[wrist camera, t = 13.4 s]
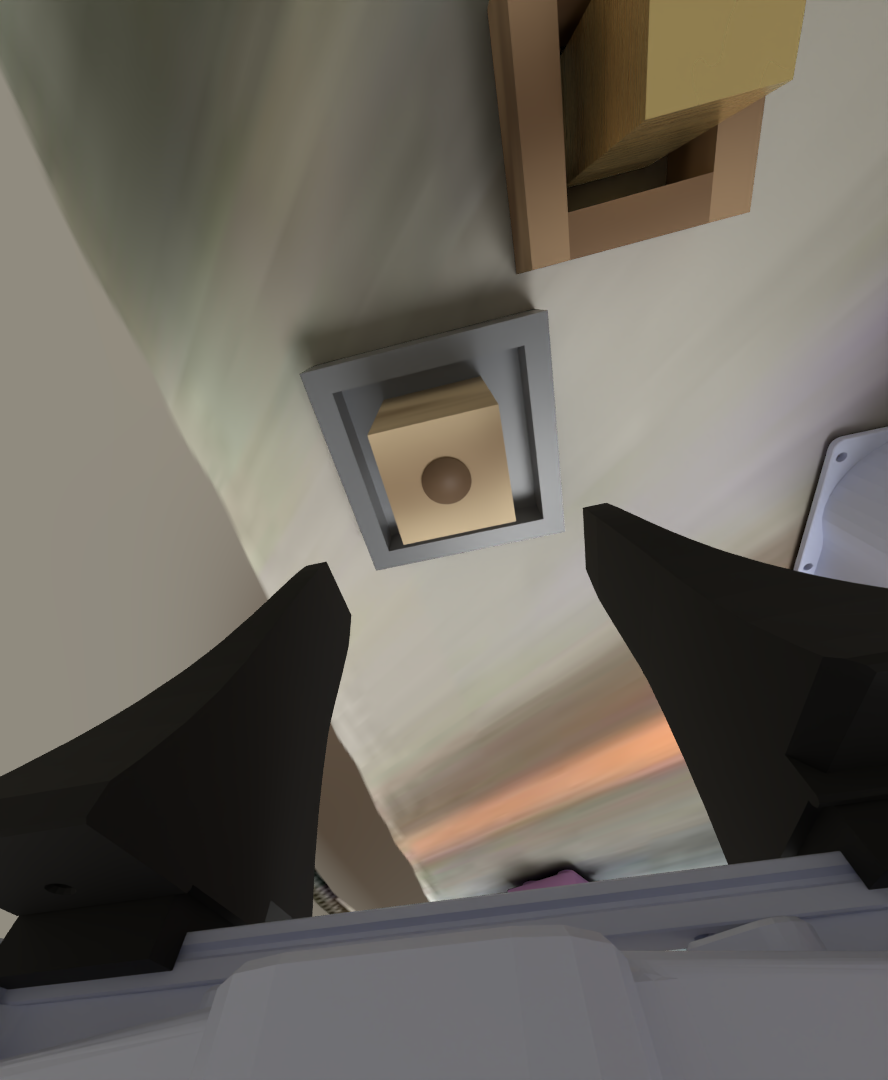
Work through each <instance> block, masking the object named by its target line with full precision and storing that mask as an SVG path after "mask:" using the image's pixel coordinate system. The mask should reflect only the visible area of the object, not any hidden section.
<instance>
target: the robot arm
mask: <svg viewBox="0 0 888 1080" xmlns="http://www.w3.org/2000/svg"><path fill="white" fill-rule="evenodd" d="M839 454H840V455H839ZM838 455H839V457H837V456H838ZM583 519H584V539H585V559H586V570H587V573H588V575H589V577H590V580H591V582H592V585H593V587H594V589H595V591H596V594H597V596H598V598H599V600H600V602H601V603H602V605H603V607H604V609H605V610H606V612H607V613H608V615H609V617H610V618H611V620H612V622H613V623H614V625H615V627H616V628H617V630H618V631H619V633H620V635H621V636H622V638H623V640H624V641H625V643H626V645H627V646H628V648H629V649H630V651H631V653H632V654H633V656H634V658H635V659H636V661H637V662H638V664H639V666H640V667H641V669H642V671H643V673H644V675H645V676H646V678H647V680H648V682H649V684H650V686H651V688H652V690H653V692H654V694H655V697H656V699H657V701H658V703H659V705H660V707H661V709H662V711H663V713H664V715H665V717H666V720H667V722H668V724H669V726H670V728H671V731H672V733H673V735H674V737H675V740H676V742H677V744H678V746H679V748H680V751H681V753H682V755H683V757H684V759H685V762H686V764H687V766H688V769H689V771H690V773H691V776H692V778H693V780H694V783H695V785H696V787H697V790H698V792H699V794H700V797H701V799H702V801H703V804H704V806H705V808H706V811H707V813H708V816H709V818H710V821H711V823H712V826H713V828H714V831H715V833H716V835H717V838H718V840H719V843H720V845H721V848H722V850H723V853H724V855H725V858H726V860H727V863H728V865H723V866H715V867H707V868H699V869H691V870H683V871H675V872H667V873H659V874H651V875H643V876H635V877H627V878H619V879H611V880H603V881H595V882H587V883H579V884H571V885H563V886H555V887H547V888H539V889H531V890H523V891H515V892H507V893H499V894H491V895H483V896H475V897H467V898H459V899H451V900H443V901H435V902H427V903H419V904H411V905H403V906H395V907H387V908H379V909H371V910H363V911H355V912H347V913H339V914H331V915H323V916H315V917H312V909H313V889H314V868H315V851H316V839H317V827H318V826H317V825H318V814H319V803H320V795H321V785H322V776H323V767H324V760H325V753H326V745H327V737H328V731H329V726H330V722H331V717H332V713H333V709H334V705H335V701H336V697H337V693H338V689H339V685H340V681H341V676H342V672H343V668H344V664H345V660H346V655H347V651H348V646H349V637H350V625H351V614H350V611H349V609H348V607H347V605H346V603H345V601H344V599H343V596H342V594H341V592H340V590H339V588H338V586H337V583H336V581H335V579H334V577H333V575H332V573H331V570H330V568H329V566H328V564H327V562H323V563H318V564H313V565H308V566H306V567H304V568H303V569H302V570H300V571H299V572H298V573H297V574H296V575H294V576H293V577H292V578H291V579H290V580H289V581H288V582H287V583H286V584H285V585H284V586H282V587H281V588H280V589H279V590H278V591H277V592H276V593H275V594H274V595H273V596H272V597H271V598H270V599H269V600H268V601H267V602H266V603H264V604H263V605H262V606H261V607H260V608H259V609H258V610H257V611H256V612H255V613H254V614H253V615H252V616H250V617H249V618H248V619H247V620H246V621H245V622H243V623H242V624H241V625H240V626H239V627H238V628H237V629H236V630H234V631H233V632H232V633H231V634H230V635H229V636H228V637H226V638H225V639H224V640H223V641H222V642H221V643H219V644H218V645H217V646H216V647H214V648H213V649H212V650H210V651H209V652H208V653H207V654H205V655H204V656H203V657H201V658H200V659H199V660H198V661H196V662H195V663H194V664H192V665H191V666H190V667H188V668H187V669H185V670H184V671H183V672H181V673H180V674H178V675H177V676H175V677H174V678H172V679H171V680H169V681H168V682H166V683H165V684H163V685H162V686H160V687H159V688H157V689H156V690H155V691H153V692H151V693H150V694H148V695H147V696H146V697H144V698H142V699H141V700H139V701H138V702H136V703H135V704H133V705H131V706H130V707H128V708H126V709H125V710H123V711H121V712H120V713H118V714H117V715H115V716H113V717H111V718H110V719H108V720H106V721H105V722H103V723H101V724H100V725H98V726H96V727H94V728H92V729H91V730H89V731H87V732H85V733H84V734H82V735H80V736H78V737H76V738H75V739H73V740H71V741H69V742H67V743H65V744H64V745H61V746H59V747H57V748H55V749H54V750H52V751H50V752H48V753H46V754H44V755H42V756H40V757H38V758H36V759H34V760H32V761H30V762H28V763H26V764H25V765H23V766H21V767H19V768H17V769H15V770H13V771H11V772H9V773H7V774H5V775H3V776H1V777H0V908H1V909H3V910H6V911H8V912H10V913H12V914H14V915H16V916H19V917H18V918H17V920H16V921H15V923H14V924H13V926H12V928H11V929H10V930H9V932H8V933H7V935H6V936H5V938H4V939H2V938H0V1080H888V427H883V428H878V429H874V430H869V431H864V432H859V433H855V434H850V435H845V436H841V437H838V438H836V439H835V440H833V441H832V442H831V443H830V445H829V447H828V450H827V453H826V457H825V460H824V464H823V467H822V471H821V475H820V478H819V482H818V485H817V489H816V492H815V496H814V499H813V503H812V506H811V510H810V513H809V517H808V520H807V524H806V527H805V531H804V534H803V538H802V541H801V545H800V548H799V552H798V555H797V559H796V562H795V566H794V569H793V570H790V569H786V568H781V567H778V566H774V565H770V564H766V563H762V562H758V561H755V560H752V559H748V558H745V557H742V556H738V555H735V554H731V553H728V552H725V551H722V550H719V549H716V548H713V547H710V546H708V545H705V544H702V543H699V542H697V541H694V540H691V539H689V538H686V537H684V536H681V535H679V534H676V533H674V532H671V531H669V530H667V529H664V528H662V527H660V526H657V525H655V524H653V523H651V522H649V521H646V520H644V519H642V518H640V517H638V516H635V515H633V514H631V513H629V512H627V511H624V510H622V509H620V508H618V507H615V506H613V505H610V504H608V503H604V504H599V505H594V506H589V507H585V508H583ZM686 948H687V950H686V951H668V950H677V949H686Z"/></svg>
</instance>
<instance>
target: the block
mask: <svg viewBox="0 0 888 1080" xmlns="http://www.w3.org/2000/svg"><path fill="white" fill-rule="evenodd" d="M367 436H368V439H369V442H370V445H371V448H372V451H373V454H374V457H375V460H376V463H377V466H378V469H379V472H380V475H381V478H382V481H383V484H384V487H385V490H386V493H387V496H388V499H389V502H390V505H391V508H392V511H393V514H394V517H395V520H396V523H397V526H398V529H399V532H400V535H401V538H402V541H403V544H404V545H406V544H410V543H415V542H420V541H425V540H429V539H434V538H439V537H444V536H448V535H453V534H458V533H463V532H468V531H472V530H477V529H482V528H487V527H491V526H496V525H501V524H506V523H510V522H515V521H516V517H515V510H514V504H513V497H512V490H511V484H510V477H509V471H508V464H507V457H506V451H505V444H504V438H503V431H502V424H501V418H500V411H499V404H498V403H497V401H496V400H495V398H494V396H493V395H492V393H491V392H490V390H489V389H488V387H487V385H486V384H485V382H484V381H483V379H482V378H481V376H479V377H475V378H471V379H467V380H463V381H459V382H455V383H451V384H446V385H442V386H438V387H434V388H430V389H426V390H422V391H418V392H414V393H410V394H406V395H402V396H398V397H394V398H389V399H385V400H383V402H382V405H381V407H380V409H379V411H378V413H377V416H376V418H375V420H374V422H373V424H372V426H371V429H370V431H369V433H368V435H367Z"/></svg>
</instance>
